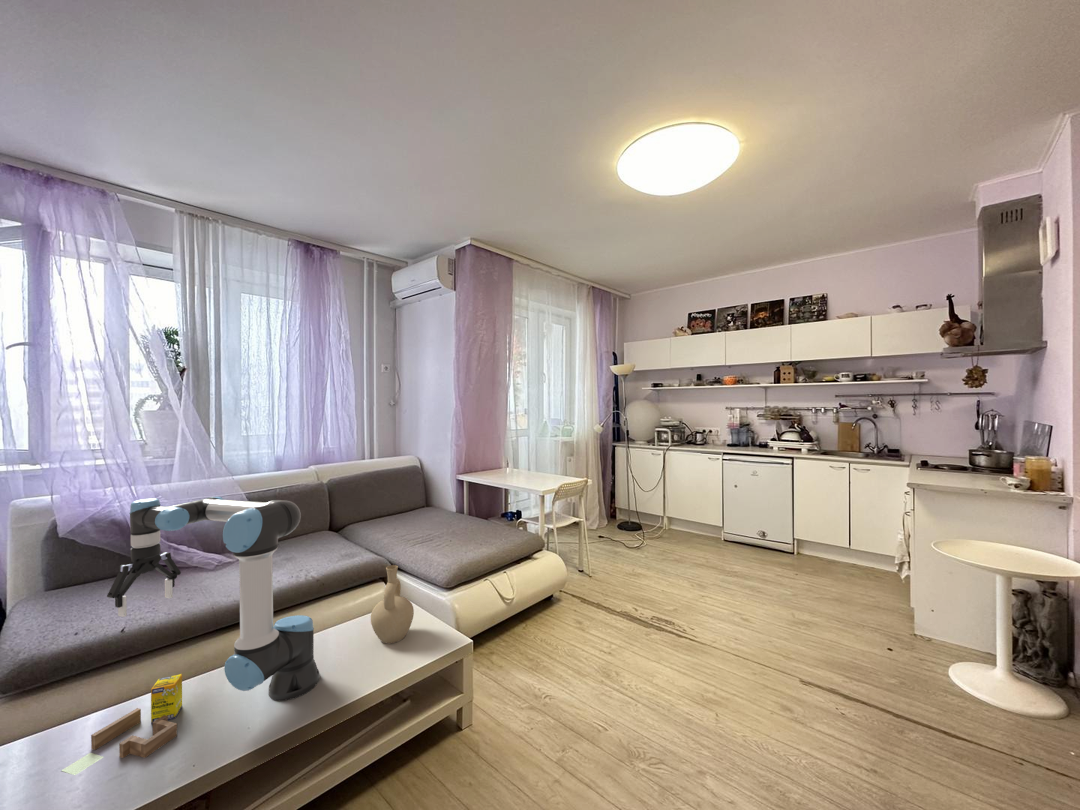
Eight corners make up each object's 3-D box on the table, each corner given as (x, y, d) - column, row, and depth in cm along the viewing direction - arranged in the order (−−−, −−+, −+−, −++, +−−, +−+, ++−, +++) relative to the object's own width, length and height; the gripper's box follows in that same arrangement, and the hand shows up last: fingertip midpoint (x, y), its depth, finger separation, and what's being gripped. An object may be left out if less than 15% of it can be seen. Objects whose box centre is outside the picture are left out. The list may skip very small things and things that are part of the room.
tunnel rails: (182, 733, 125) (182, 719, 125) (138, 763, 115) (138, 749, 115) (137, 720, 131) (137, 707, 130) (91, 749, 120) (91, 734, 120)
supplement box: (150, 725, 129) (150, 689, 129) (159, 712, 134) (158, 677, 134) (175, 719, 131) (174, 684, 131) (182, 706, 137) (182, 672, 136)
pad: (114, 760, 116) (114, 760, 116) (86, 779, 110) (86, 779, 110) (90, 753, 119) (90, 752, 119) (61, 770, 113) (61, 770, 113)
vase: (377, 630, 181) (376, 560, 181) (417, 628, 183) (416, 558, 183) (365, 653, 165) (364, 576, 165) (409, 650, 166) (408, 574, 166)
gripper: (177, 533, 159) (178, 589, 159) (91, 556, 135) (92, 623, 135) (192, 534, 157) (193, 591, 157) (107, 558, 133) (108, 626, 133)
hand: (146, 606), depth 146 cm, fingers open, 13 cm apart
